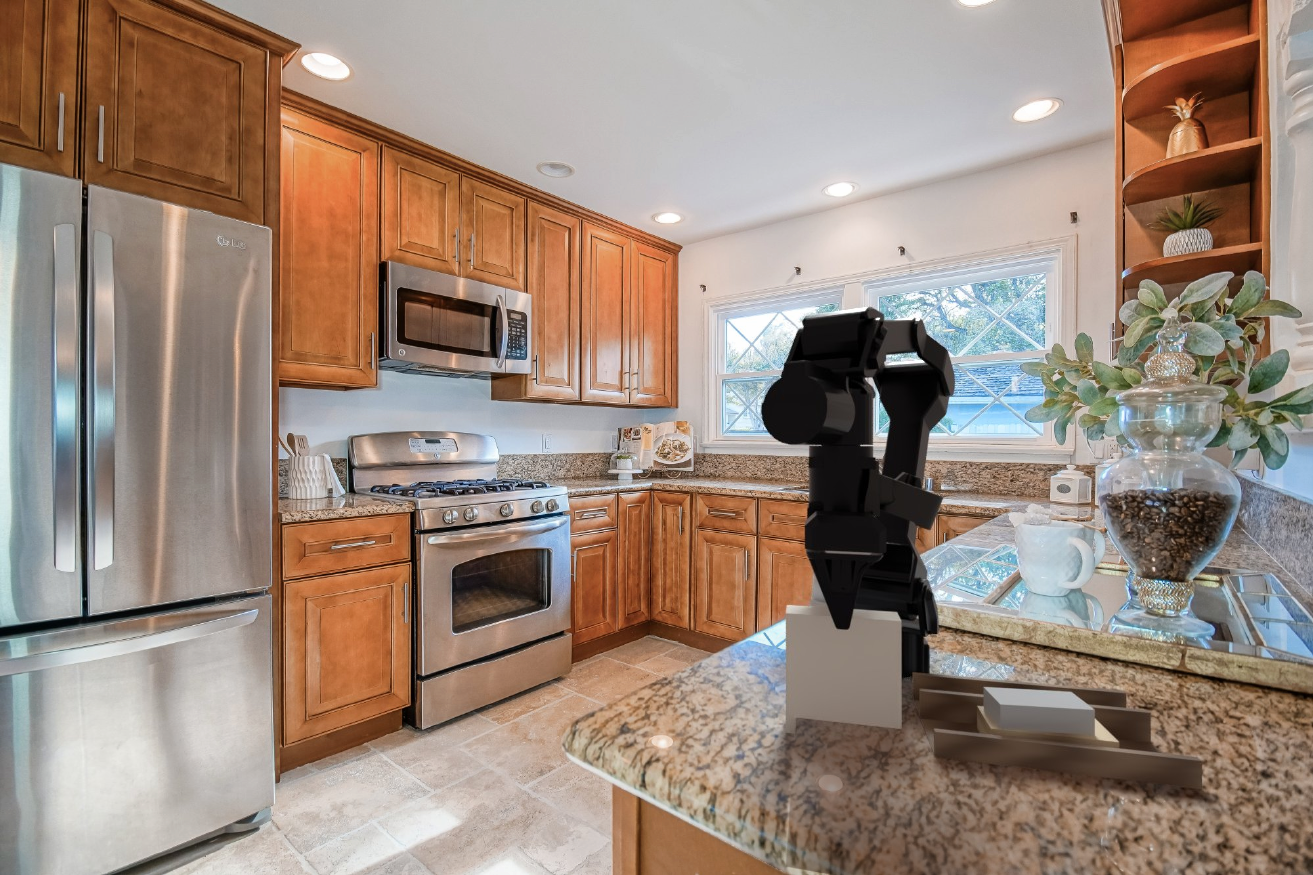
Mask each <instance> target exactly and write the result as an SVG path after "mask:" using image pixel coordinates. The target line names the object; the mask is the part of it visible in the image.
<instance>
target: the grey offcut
mask: <svg viewBox="0 0 1313 875" xmlns="http://www.w3.org/2000/svg"><path fill="white" fill-rule="evenodd" d="M984 711H985V712H986V713H987V714H988V716H989V717H990V718H991V719H992V720H993V721H994V722H995V724H996V725H997V726H998V727H999V728H1000V729H1007V730H1022V731H1037V732H1053V733H1068V734H1084V735H1095V710H1094V709H1093V708H1092V707H1090V706H1089V705H1088V704H1086V703H1085V702H1084V701H1083V700H1081V699H1080V698H1079V697H1077V696H1076V695H1075V694H1073V693H1072V692H1065V691H1047V690H1030V689H1012V688H994V687H984Z"/></svg>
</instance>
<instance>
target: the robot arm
mask: <svg viewBox="0 0 1313 875" xmlns="http://www.w3.org/2000/svg"><path fill="white" fill-rule="evenodd" d="M801 323H802V327H799V328H798V329H797V331H796V332H795V336H794V339H793V341H792V344H791V347H790V350H789V353H788V355H787V357H786V361H784V363H783V369H782V371H781V374H780V378H779V379H777V380H776V381H774V382H773V383H772V384H771V386H769V388H768V390H767V392H766V394H765V395H764V399H763V402H761V407H760V415H761V420H762V423H763V426H764V428H765V430H766V431H767V432H768V434H769V435H770V436H771V437H772V438H773V439H774V440H776V441H777V442H780V443H782V444H786V445H789V446H808V504H807V506H806V507H807V508H806V520H805V521H804V522H805V523H804V549H805V553H806V557H807V558H808V561H809V563H810V566H811V568H812V572H813V571H814V574H815V576H816V579H817V581H818V584H819V586H820V589H821V591H822V594H823V596H824V599H825V601H826V604H827V607H828V609H829V612H830V614H831V617H832V619H833V622H834V625H835V627H836V628H837V629H841V630H848V629H849V628H850V624H851V620H852V615H853V611H854V609H857V610H872V611H888V612H897V613H898V615H899V617H900V619H901V675H902V679H907V678H908V679H909V678H913V672H916V673H927V674H931V673H930V672H931V670H930V668H931V667H930V664H931V663H930V662H931V661H930V660H931V659H930V657H931V655H930V652H931V648H930V647H931V646H930V644H929V643H928V641H927V638H928V636H929V635H930V636H932V635H933V636H934V635H938V634H940V629H939V628H940V626H939V624H940V622H939V619H940V618H939V613H938V612H939V608H938V605H937V604H938V603H937V601H936V599H935V594H934V593H933V592H934V591H933V589H932V587H931V583H930V581H929V579H928V569H927V567H926V565H925V563H924V561H923V558H922V557H921V555H920V552H919V551H918V548H917V547H916V546H917V545H916V539H917V533H918V532H917V531H918V527H919V528H921V529H924V530H927V531H931V530H932V527H933V526H934V522H935V520H936V517H937V515H938V513H939V510H940V507H941V506H942V502H943V501H944V498H945V497H944V496H941V495H938V494H936V493H933V492H931V491H928V490H925V489H923V485H924V479H925V478H924V477H925V470H926V463H927V455H928V448H929V442H930V441H929V440H930V439H929V438H930V434H931V431H932V430H933V429H934V428H935V427H936V426H937V425H938V424H939V423H940V422H941V421H942V419H944V418H945V416H946V415H947V413H948V407H949V401H950V397H953V396H954V393H955V390H956V389H955V387H956V379H955V378H956V377H955V375H956V374H955V371H954V368H953V365H952V364H953V363H952V361H951V356H950V354H949V350H948V349H947V348H946V347H945V345H942V344H941V343H940V342H939V341H937V340H936V339H935V338H933V337H932V336H931V335H930V334H928V332H927V330H926V327H925V323H924V320H923V318H916V317H914V316H913V317H905V318H897V319H885V314H884V313H883V312H882V311H880V310H878V309H876V308H875V307H872V306H865V307H857V308H856V307H855V308H849V309H842V310H834V311H829V312H827V311H826V312H819V313H813V314H808V315H806V316H804V318H803V319H802V320H801ZM914 353H916V356H917V357H918V358H919V359H920V360H918V359H917V360H909V361H896V362H889V363H888V364H885V362H886V361H887V356H889V355H890V356H891V355H902V354H914ZM869 378H872V380H873V382H874V386H875V389H876V390H877V392H878V393H877V394H878V395H879V401H880V403H881V405H882V407H883V409H884V411H885V412H886V414H887V416H888V418H889V424H888V429H887V430H888V431H887V437H886V443H885V450H884V456H883V462H882V470H881V473H880V461H879V460H876V458H877V457H875V456H874V446H873V445H874V399H875V398H876V396H877V394H876V390H875V389H874V386H873V385H871V383H869V382H868V381H867V380H866V379H869Z"/></svg>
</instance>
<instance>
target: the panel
mask: <svg viewBox="0 0 1313 875" xmlns="http://www.w3.org/2000/svg"><path fill="white" fill-rule="evenodd" d="M902 679H903V678H902V675H901V619H900V617H899V615H898V613H897V612H888V611H872V610H857V609H854V611H853V615H852V620H851V624H850V628H849V629H848V630H841V629H837V628H836V627H835V625H834V622H833V619H832V617H831V614H830V612H829V609H828V608H826V607H811V606H808V605H793V604H787V605H786V609H785V733H786V734H793V735H795V734H796V729H797V728H796V727H797V726H796V725H797V724H796V723H797V719H806V720H814V721H823V722H824V721H825V722H832V723H833V722H834V723H841V724H842V723H844V724H852V725H861V726H870V727H879V728H888V729H898V730H902V729H903V727H902V726H903V725H902V723H903V722H902V720H903V719H902V714H903V713H902V710H903V709H902V697H903V696H902V691H903V690H902V682H903V681H902Z"/></svg>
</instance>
